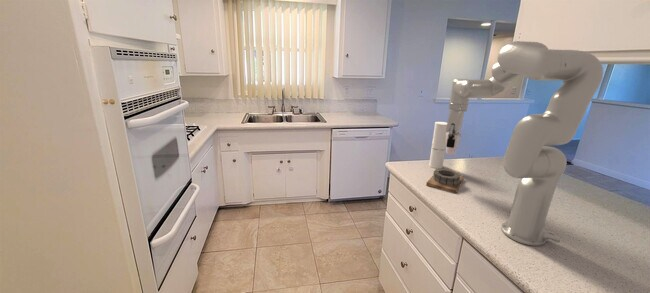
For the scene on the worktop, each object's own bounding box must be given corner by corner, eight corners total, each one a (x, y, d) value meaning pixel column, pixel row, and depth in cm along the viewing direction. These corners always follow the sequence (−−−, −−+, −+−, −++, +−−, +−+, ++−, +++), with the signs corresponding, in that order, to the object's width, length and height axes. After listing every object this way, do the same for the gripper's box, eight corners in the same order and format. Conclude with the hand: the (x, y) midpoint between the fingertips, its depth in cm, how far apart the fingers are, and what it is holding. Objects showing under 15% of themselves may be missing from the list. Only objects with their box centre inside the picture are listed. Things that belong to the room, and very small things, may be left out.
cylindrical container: (440, 164, 158) (446, 121, 150) (444, 169, 151) (451, 124, 143) (427, 163, 158) (433, 121, 151) (430, 168, 151) (437, 124, 144)
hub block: (463, 180, 137) (465, 170, 135) (455, 193, 123) (457, 182, 121) (436, 173, 144) (438, 164, 143) (426, 185, 130) (427, 175, 129)
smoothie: (448, 150, 133) (452, 122, 129) (460, 154, 128) (465, 125, 124) (440, 152, 130) (444, 123, 126) (452, 156, 125) (457, 126, 120)
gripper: (453, 104, 131) (447, 140, 136) (444, 108, 118) (438, 148, 123) (470, 105, 127) (464, 142, 132) (463, 110, 114) (456, 151, 119)
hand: (451, 145), depth 128 cm, fingers closed on smoothie, 6 cm apart
